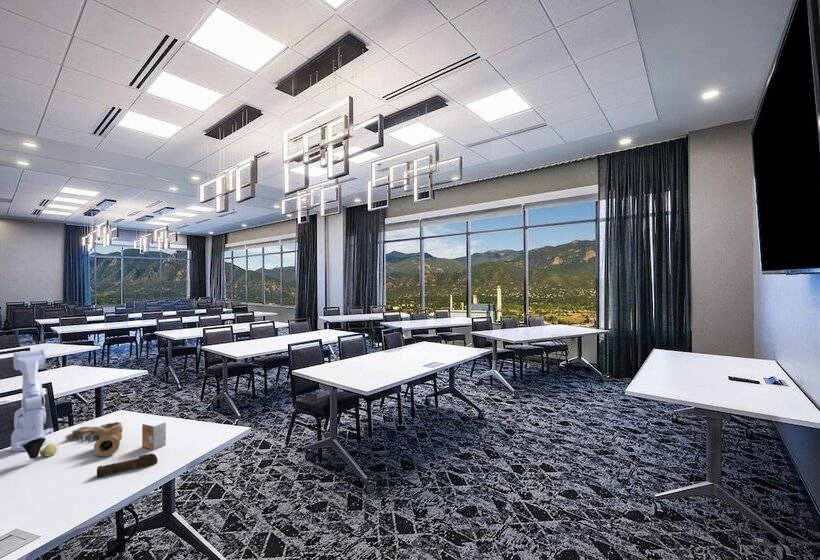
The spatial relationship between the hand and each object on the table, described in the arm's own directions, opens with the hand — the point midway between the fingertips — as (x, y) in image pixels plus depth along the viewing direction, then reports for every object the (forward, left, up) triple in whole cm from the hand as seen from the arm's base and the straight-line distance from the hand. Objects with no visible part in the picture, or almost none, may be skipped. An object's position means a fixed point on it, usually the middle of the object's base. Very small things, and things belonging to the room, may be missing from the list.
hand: (33, 457), depth 148 cm
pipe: (+22, +11, -2) cm, 25 cm away
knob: (0, +6, -2) cm, 6 cm away
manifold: (+4, +23, -2) cm, 23 cm away
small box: (+40, +14, -2) cm, 42 cm away
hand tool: (+44, -6, -2) cm, 44 cm away
